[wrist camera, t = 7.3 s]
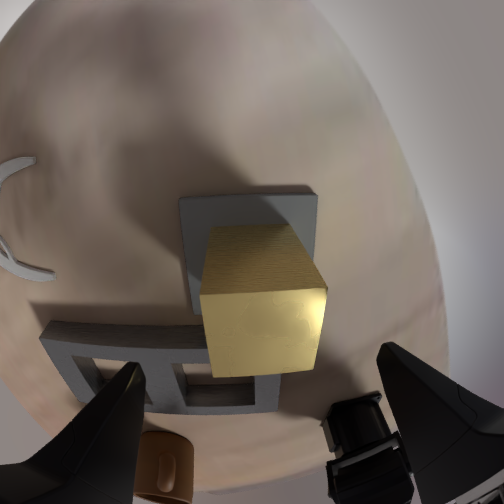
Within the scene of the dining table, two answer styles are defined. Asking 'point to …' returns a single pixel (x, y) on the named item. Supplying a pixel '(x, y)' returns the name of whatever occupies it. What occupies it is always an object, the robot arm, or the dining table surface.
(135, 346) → the grey flat frame
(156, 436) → the mug
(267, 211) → the pad
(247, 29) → the dining table surface
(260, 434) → the dining table surface
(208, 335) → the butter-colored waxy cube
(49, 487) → the robot arm
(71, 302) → the dining table surface
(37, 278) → the pliers
